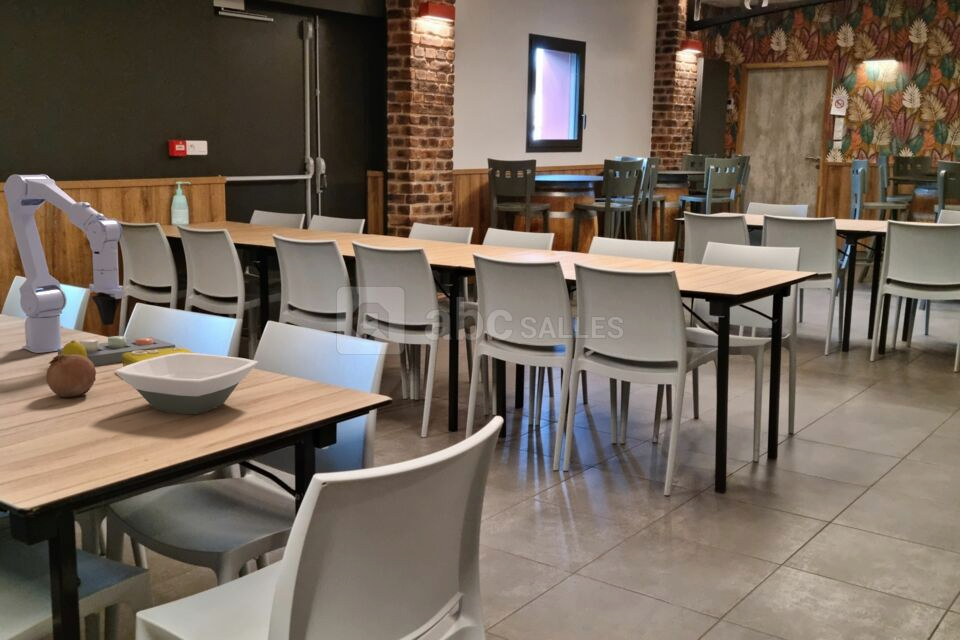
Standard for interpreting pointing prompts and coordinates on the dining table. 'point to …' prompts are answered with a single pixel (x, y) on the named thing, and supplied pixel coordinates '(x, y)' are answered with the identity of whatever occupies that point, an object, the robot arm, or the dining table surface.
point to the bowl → (186, 380)
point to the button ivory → (90, 345)
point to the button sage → (116, 342)
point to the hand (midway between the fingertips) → (107, 324)
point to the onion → (70, 375)
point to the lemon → (74, 349)
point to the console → (121, 351)
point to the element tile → (150, 354)
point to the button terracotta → (143, 341)
